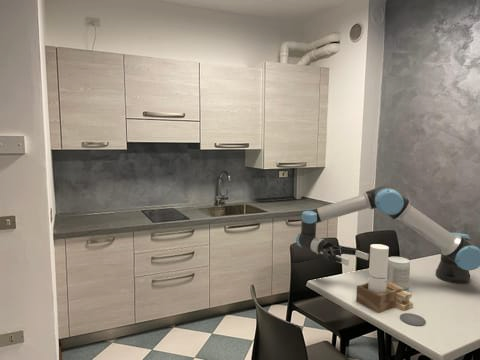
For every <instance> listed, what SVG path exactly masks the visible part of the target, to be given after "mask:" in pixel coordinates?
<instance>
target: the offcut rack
mask: <svg viewBox="0 0 480 360" xmlns="http://www.w3.org/2000/svg"><path fill="white" fill-rule="evenodd" d="M412 296H413V295H412V293H411V292H409V291H408V292H406V291H404V288H402V287H400V286H397V285H395V284H393V283H391V282H389V281H387V286H386V293H383V294H380V295H378V294H376V293H374V292H372V291H370V290H368V282H365V283H362V284H358V285H356V297H355V302H357V303H358V304H361V305H362V306H364V307H366V308H368V309H370V310H371V311H374V312H376V313H382V312H385V311H387V310H390V309H394V308H396V309H399V310H401V311H403V312H404V311H407V310H410V309H413V308H414V303H413V302H412V301H410V299H411V298H412Z"/></svg>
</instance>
